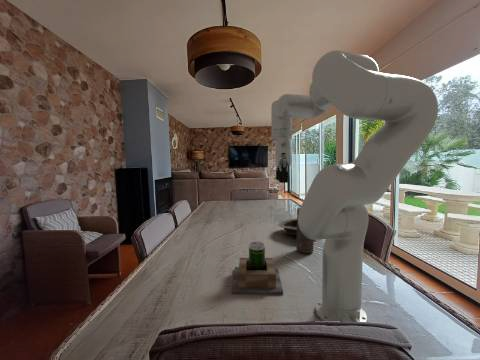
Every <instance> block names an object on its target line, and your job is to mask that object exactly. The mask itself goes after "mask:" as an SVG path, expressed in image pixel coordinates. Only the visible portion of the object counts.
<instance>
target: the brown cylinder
mask: <svg viewBox="0 0 480 360" xmlns="http://www.w3.org/2000/svg"><path fill="white" fill-rule="evenodd" d="M299 210H300V207H297V210H296V219H297V235H296V245H295V246H296V251H298V252H299V253H305V254H309V253H313V252H314V240H313V239H310V238H308V237H306V236H305V235H304V234H303V233H302V232H301V230H300V228H299V224H298V215H299Z"/></svg>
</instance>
